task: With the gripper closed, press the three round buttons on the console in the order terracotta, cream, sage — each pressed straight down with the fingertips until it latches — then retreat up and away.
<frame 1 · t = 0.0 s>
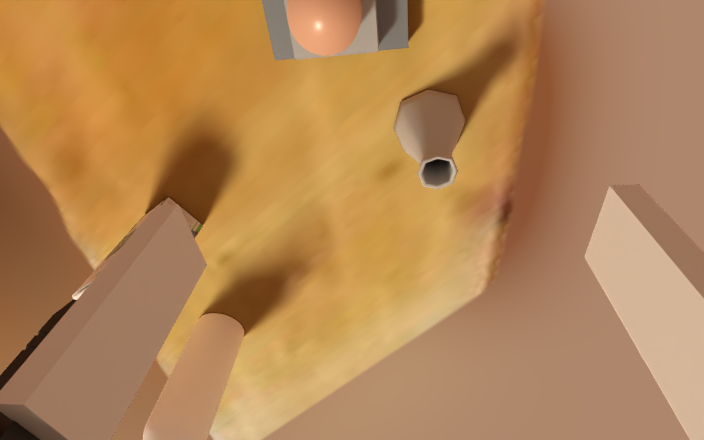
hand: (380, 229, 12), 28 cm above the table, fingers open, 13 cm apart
syrup box: (174, 218, 50), on the table
flask: (428, 122, 39), on the table
bottle: (221, 326, 64), on the table
button terracotta: (327, 11, 28), point 6 cm above the table, slide at 0.0 cm
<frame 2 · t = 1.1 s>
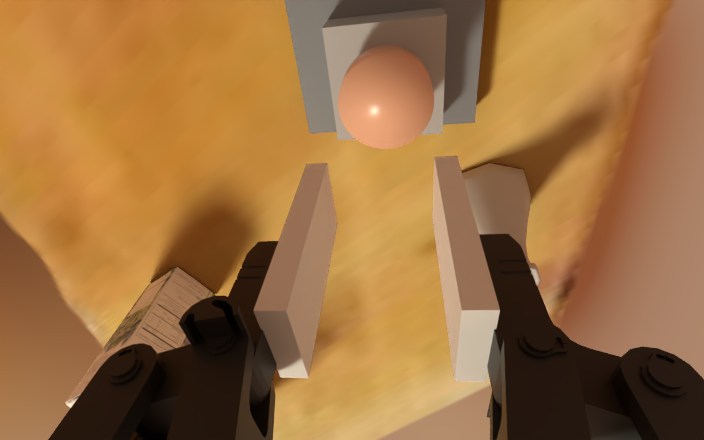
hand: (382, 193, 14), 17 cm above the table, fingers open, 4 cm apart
syrup box: (182, 287, 44), on the table
flask: (485, 196, 33), on the table
button terracotta: (386, 92, 22), point 6 cm above the table, slide at 0.0 cm
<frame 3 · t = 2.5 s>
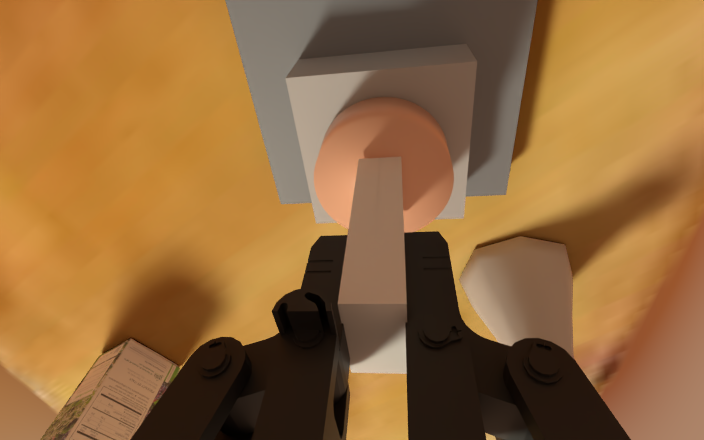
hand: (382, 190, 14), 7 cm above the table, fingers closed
syrup box: (141, 357, 37), on the table
flask: (512, 272, 26), on the table
button terracotta: (383, 157, 16), point 5 cm above the table, slide at 1.2 cm, touching gripper
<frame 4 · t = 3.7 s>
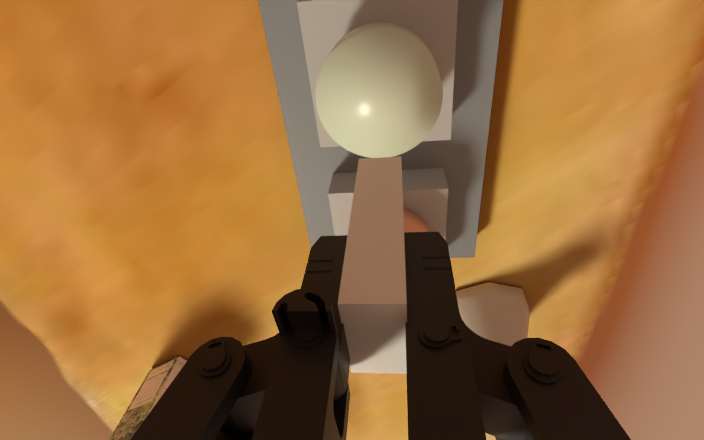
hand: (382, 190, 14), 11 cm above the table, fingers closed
syrup box: (184, 371, 45), on the table
button sage: (379, 85, 17), point 6 cm above the table, slide at 0.0 cm
flask: (485, 307, 34), on the table
console: (382, 54, 22), on the table
button terracotta: (389, 239, 24), point 5 cm above the table, slide at 1.3 cm
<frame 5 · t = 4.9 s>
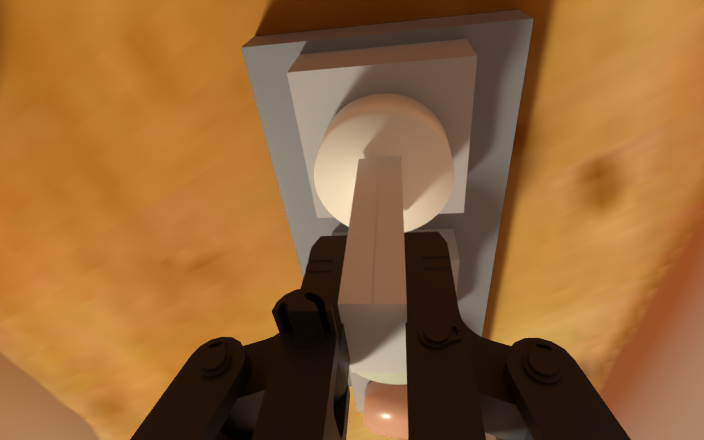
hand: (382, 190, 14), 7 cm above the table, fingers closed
button cream: (384, 154, 16), point 5 cm above the table, slide at 1.0 cm, touching gripper
button sage: (394, 323, 21), point 6 cm above the table, slide at 0.0 cm
console: (394, 251, 26), on the table
button terracotta: (399, 393, 28), point 5 cm above the table, slide at 1.3 cm
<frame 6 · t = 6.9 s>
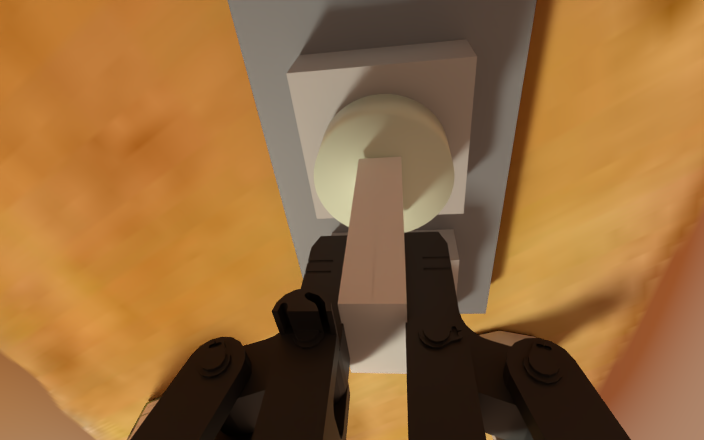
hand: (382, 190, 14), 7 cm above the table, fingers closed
syrup box: (181, 404, 43), on the table
button sage: (383, 154, 16), point 5 cm above the table, slide at 1.0 cm
flask: (495, 351, 32), on the table
console: (385, 109, 20), on the table
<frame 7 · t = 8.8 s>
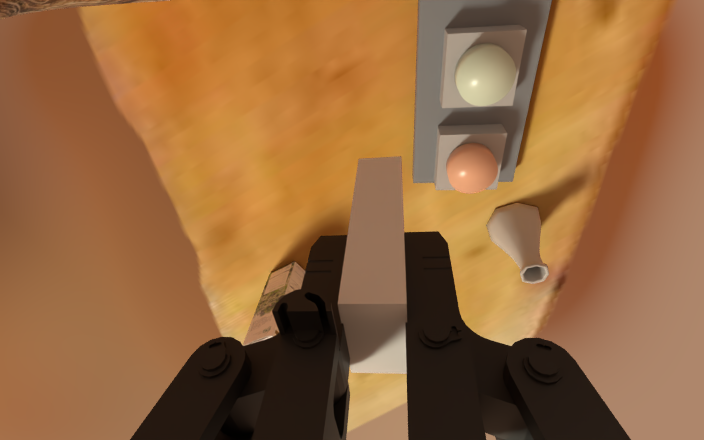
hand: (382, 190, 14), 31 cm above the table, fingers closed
syrup box: (293, 276, 63), on the table
button sage: (481, 71, 37), point 5 cm above the table, slide at 1.3 cm
flask: (512, 222, 53), on the table
console: (473, 59, 40), on the table
button terracotta: (469, 163, 43), point 5 cm above the table, slide at 1.3 cm
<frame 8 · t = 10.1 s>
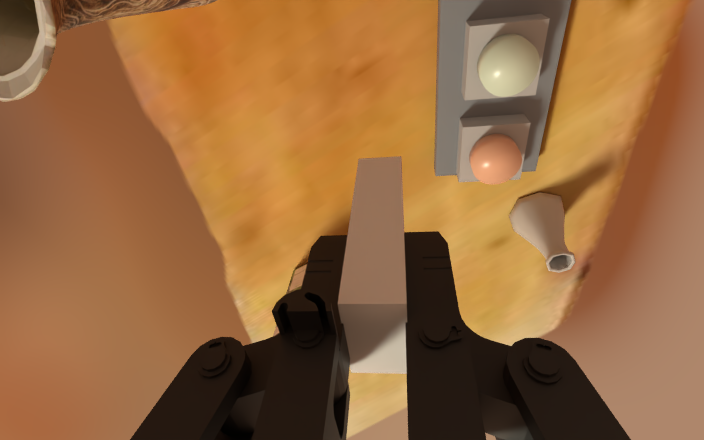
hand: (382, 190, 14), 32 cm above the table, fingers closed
syrup box: (316, 272, 64), on the table
button sage: (504, 62, 37), point 5 cm above the table, slide at 1.3 cm
flask: (535, 211, 53), on the table
console: (494, 50, 40), on the table
button terracotta: (492, 154, 43), point 5 cm above the table, slide at 1.3 cm
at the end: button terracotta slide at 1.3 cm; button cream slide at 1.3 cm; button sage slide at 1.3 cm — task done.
